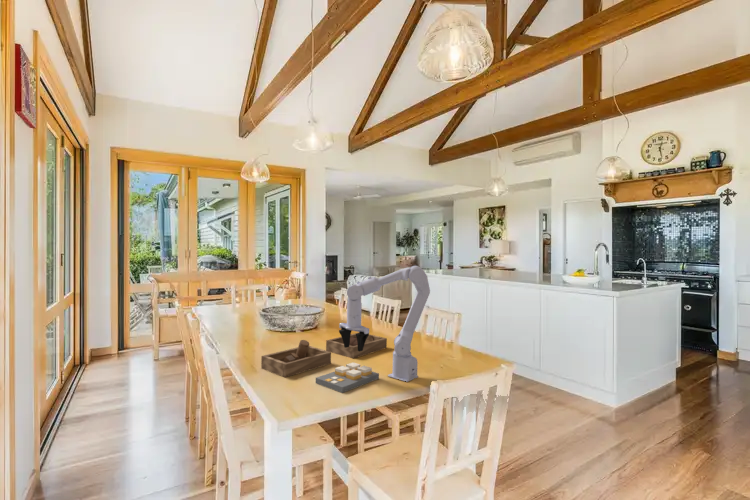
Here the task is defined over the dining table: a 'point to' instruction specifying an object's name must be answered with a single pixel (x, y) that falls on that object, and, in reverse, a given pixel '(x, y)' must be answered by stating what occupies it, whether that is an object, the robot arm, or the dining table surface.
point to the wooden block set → (298, 352)
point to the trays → (318, 355)
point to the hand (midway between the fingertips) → (353, 348)
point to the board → (344, 381)
